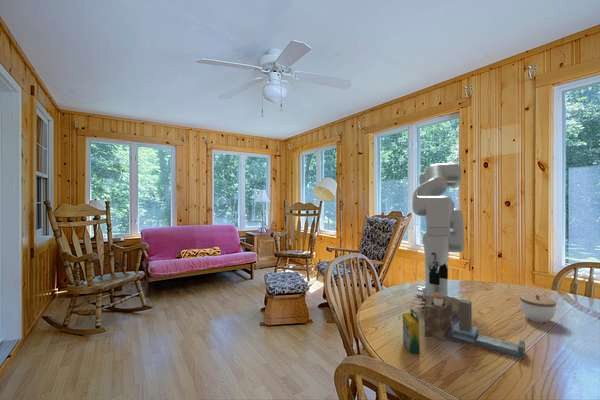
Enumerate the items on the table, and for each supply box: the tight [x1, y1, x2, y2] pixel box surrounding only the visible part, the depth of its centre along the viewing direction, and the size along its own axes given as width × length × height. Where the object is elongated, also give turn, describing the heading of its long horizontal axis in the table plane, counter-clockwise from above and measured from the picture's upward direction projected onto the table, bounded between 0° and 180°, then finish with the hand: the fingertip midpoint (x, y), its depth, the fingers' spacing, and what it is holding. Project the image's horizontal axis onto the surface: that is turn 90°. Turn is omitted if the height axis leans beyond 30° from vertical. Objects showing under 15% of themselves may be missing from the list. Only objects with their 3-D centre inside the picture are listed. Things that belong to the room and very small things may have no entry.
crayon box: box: [402, 307, 421, 355], centre depth 93 cm, size 7×3×12 cm, turn 178°
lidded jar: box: [519, 294, 557, 323], centre depth 113 cm, size 11×11×9 cm
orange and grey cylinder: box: [433, 293, 443, 307], centre depth 103 cm, size 3×3×7 cm
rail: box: [445, 326, 526, 360], centre depth 94 cm, size 21×5×3 cm, turn 48°
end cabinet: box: [423, 299, 453, 341], centre depth 103 cm, size 6×10×10 cm, turn 138°
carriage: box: [453, 299, 479, 343], centre depth 98 cm, size 6×7×11 cm
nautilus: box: [410, 295, 461, 317], centre depth 120 cm, size 8×22×15 cm
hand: (438, 281), depth 103 cm, fingers open, 8 cm apart
